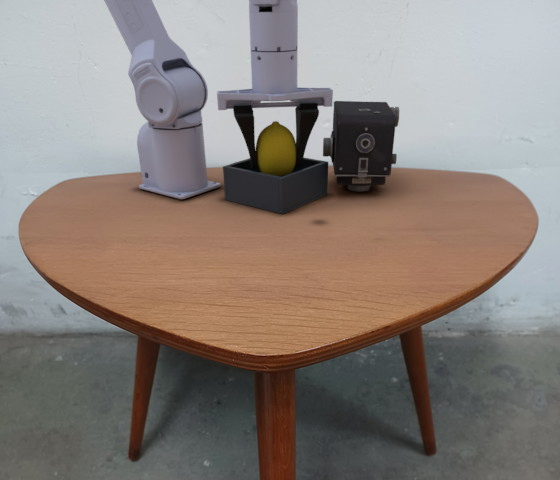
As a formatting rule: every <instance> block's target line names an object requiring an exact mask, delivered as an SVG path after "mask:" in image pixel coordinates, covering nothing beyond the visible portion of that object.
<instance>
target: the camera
mask: <svg viewBox="0 0 560 480" xmlns="http://www.w3.org/2000/svg"><path fill="white" fill-rule="evenodd" d="M332 113H333V115H332V130H331V133H330V137H323V139H322V140H323V141H322V143H323V144H322V157H326V158H327V157H330V160H331V164H332V167H333V175H334V177H335V180H336V184H337V185H341V186H342V187H345V185H346V186H347V190H349V191H351V192H367V191H369V190H370V187H372V186H384V185H385V184H386V179H387V177H389V178H390V176H391V174H392V168H393V167H392V166H393V165H397V159H398V155H397V153H393V152H394V143H395V135H396V134H395V132H396V128H397V127H398V126H399V120H400V106H395V107H394V106H390V105H389V104H388V102H387V101H354V100H353V101H351V100H335V101H333V112H332Z"/></svg>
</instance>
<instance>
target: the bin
mask: <svg viewBox="0 0 560 480" xmlns="http://www.w3.org/2000/svg"><path fill="white" fill-rule="evenodd" d="M222 175H223V176H222V177H223V188H224V200H225V201H229V202H231V203H232V202H233V203H237V204H240V205H245V206H248V207H253V208H256V209H261V210H265V211H268V212H273V213H277V214H281V215H284V214H286V213H289V212H291V211H293V210H295V209H298V208H300V207H303V206H305V205H307V204H310V203H312V202H314V201H316V200H319V199H321V198H323V197H325V196H327V195H328V188H329V187H328V185H329V184H328V183H329V161H326V160H320V159H315V158H309V157H305V156H304V157H303V163H302V167H297V166H296V164H295V167H294V169H293V171H292V173H291V174H288V175H286V176H283V177H280V176H275V175H270V174H265V173H261V172H260V170H259V168H258V166H257V169H252V168H251V161H250V157H249V158H246V159H243V160H239V161H236V162H234V163H230V164H225V165H223V166H222Z"/></svg>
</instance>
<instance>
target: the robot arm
mask: <svg viewBox="0 0 560 480" xmlns="http://www.w3.org/2000/svg"><path fill="white" fill-rule="evenodd" d="M103 1H104V3H105V5H106V7H107V9H108V11H109V13H110V15H111V17H112V19H113V21H114V24H115V25H116V27H117V29H118V31H119V33H120V35H121V37H122V39H123V41H124V43H125V45H126V47H127V49H128V51H129V53H130V55H131V58H130V62H129V65H128V72H127V74H128V77H129V79H130V81H131V83H132V85H133V88H134V94H135V95H134V96H135V103H136V106H137V108H138V111H139V113H140V114H141V115H142V117H143V118H144V119H145V120H146V121H147V122H145V123H143V125H142V126H141V127H140V128H139V131H138V133H137V139H136V146H137V153H138V159H139V167H140V174H141V179H142V183H141V184H139V185H138V189H139V190H144V191H147V192H151V193H156V194H159V195H161V196H167V197H171V198H175V199H178V200H185V199H189V198H191V197H194V196H197V195H200V194H203V193H206V192H209V191H212V190H215V189H218V188H220V187H221V185H222V184H221V183H220V182H216V181H213V180H208V171H207V159H206V158H207V157H206V148H205V137H204V125H203V116H202V111H203V109H204V108H205V106H206V105H207V101H208V97H209V89H208V84H207V82H206V79H205V78H204V76H203V74H202V73H201V72H200V71H199V70H198V69H197V68H196V67H195V66H194V65H193V64H192V62H191V61H190V59H189V57H188V55H187V53H186V52H185V50H184V49H183V48H181V46H180V45H178V44H177V42H175V41H174V40H173V39H172V38H171V37H170V36H169V34H168V31H167V29H166V27H165V25H164V23H163V21H162V18H161V17H160V14H159V12H158V10H157V8H156V6H155V4H154V2H153V0H103ZM298 6H299V5H298V0H248V19H249V20H248V21H249V43H250V45H249V46H250V71H251V72H250V73H251V88H243V89H232V90H217V92H216V95H217V96H216V99H217V100H216V101H217V110H218V111H226V110H232V112H233V117H234V119H235V121H236V123H237V125H238V127H239V130H240V132H241V134H242V137H243V139H244V142H245V144H246V148H247V151H248V155H249V158H250V161H251V168H252V169H257V159H256V142H255V141H256V140H255V139H256V138H255V137H256V136H255V116H254V110H253V109H265V108H267V109H269V108H294V109H295V142H296V148H297V159H296V166H297V167H302V163H303V157H304V158H305V152H306V149H307V146H308V142H309V139H310V136H311V133H312V131H313V129H314V127H315V125H316V123H317V121H318V118H319V115H320V109H319V107H326V108H328V107H331V108H332V107H333V97H334V91H333V89H332V88H331V87H298V47H299V46H298V41H299V40H298V38H299V36H298V35H299V33H298V31H299V30H298V29H299V28H298V27H299V25H298V24H299V23H298V21H299V19H298V18H299V17H298V16H299V15H298V13H299V12H298V11H299V10H298V9H299V7H298Z"/></svg>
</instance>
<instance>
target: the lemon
mask: <svg viewBox="0 0 560 480" xmlns="http://www.w3.org/2000/svg"><path fill="white" fill-rule="evenodd" d="M255 151H256V159H257V166H258V168H259V170H260V172H261V173H265V174H270V175H275V176H280V177H283V176H286V175H288V174H291V173H292V171H293V169H294V167H295V164H296V159H297V148H296V138H295V136H294V135H293V132H291V129H289V128H288V127H286V126H285V125H283V124H281V123H280V122H279V121H277V120H275V121H272V122H271V124H269V125H266V126H265V127H264V128H263V129H262V130H261V131H260V132H259V134H258V136H257V139H256V143H255Z"/></svg>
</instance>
